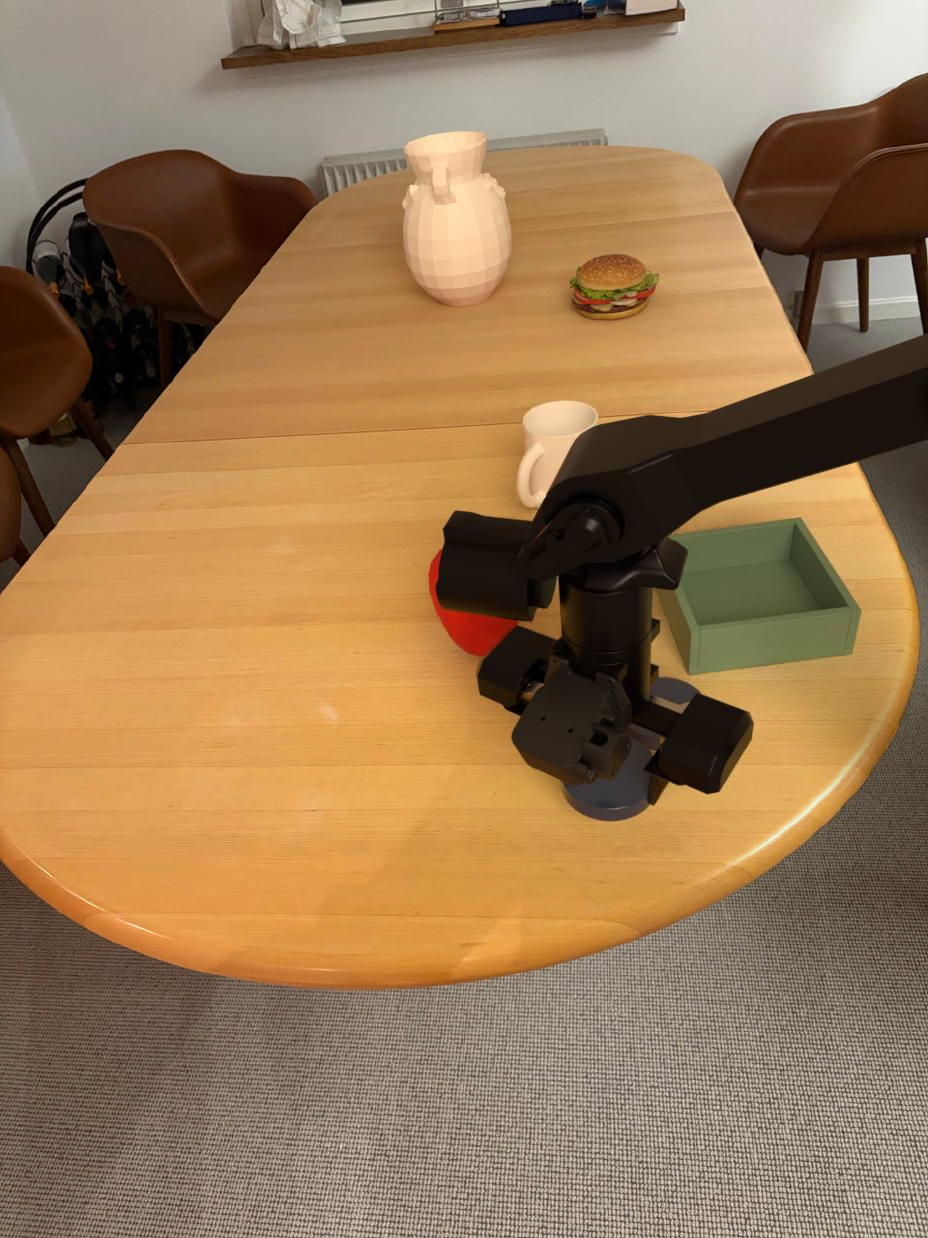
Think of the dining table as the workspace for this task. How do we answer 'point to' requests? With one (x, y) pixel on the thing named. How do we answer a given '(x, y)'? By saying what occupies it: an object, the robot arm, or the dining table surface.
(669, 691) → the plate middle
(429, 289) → the pitcher
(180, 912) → the dining table surface
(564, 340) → the dining table surface
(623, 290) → the food
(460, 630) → the apple
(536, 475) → the mug
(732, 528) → the tub
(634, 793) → the dark round disc
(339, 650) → the dining table surface
